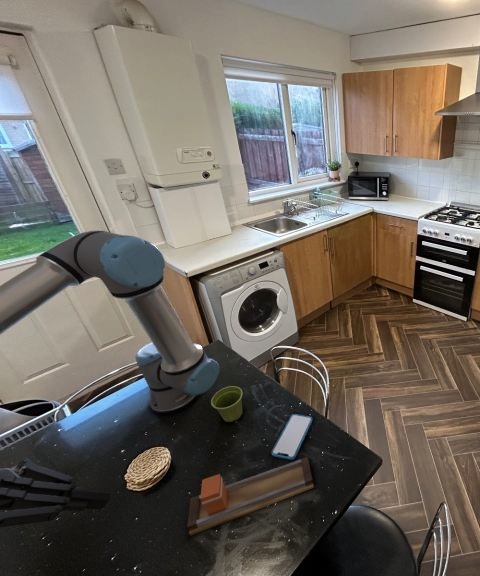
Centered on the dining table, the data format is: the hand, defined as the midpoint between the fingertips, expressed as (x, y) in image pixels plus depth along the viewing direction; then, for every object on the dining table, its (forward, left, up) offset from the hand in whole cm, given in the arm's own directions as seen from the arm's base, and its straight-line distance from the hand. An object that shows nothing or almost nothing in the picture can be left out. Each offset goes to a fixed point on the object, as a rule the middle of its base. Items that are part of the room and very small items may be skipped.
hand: (106, 501), depth 66 cm
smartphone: (-14, +39, -17) cm, 45 cm away
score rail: (0, +27, -17) cm, 32 cm away
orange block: (0, +19, -15) cm, 24 cm away
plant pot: (-30, +21, -17) cm, 40 cm away
